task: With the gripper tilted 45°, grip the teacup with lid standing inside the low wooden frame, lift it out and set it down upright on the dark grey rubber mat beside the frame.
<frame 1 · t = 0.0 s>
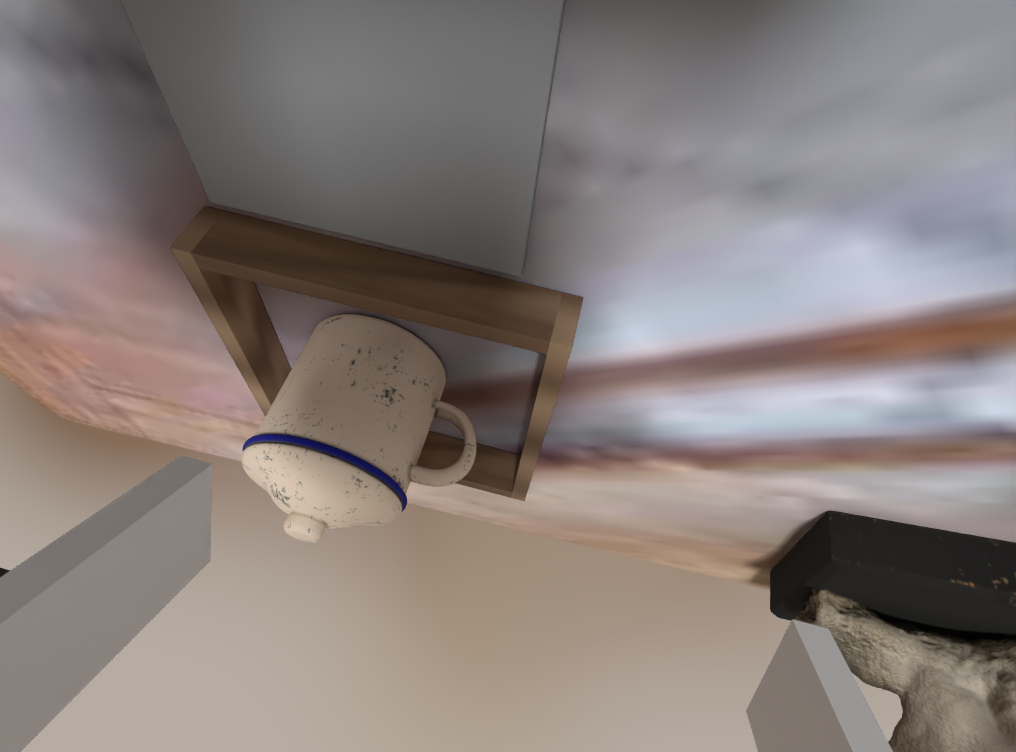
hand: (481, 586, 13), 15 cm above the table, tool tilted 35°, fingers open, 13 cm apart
teacup with lid: (404, 359, 35), resting in wooden frame
wooden frame: (403, 362, 35), on the table
rubber mat: (341, 69, 20), on the table
coral: (954, 552, 39), on the table
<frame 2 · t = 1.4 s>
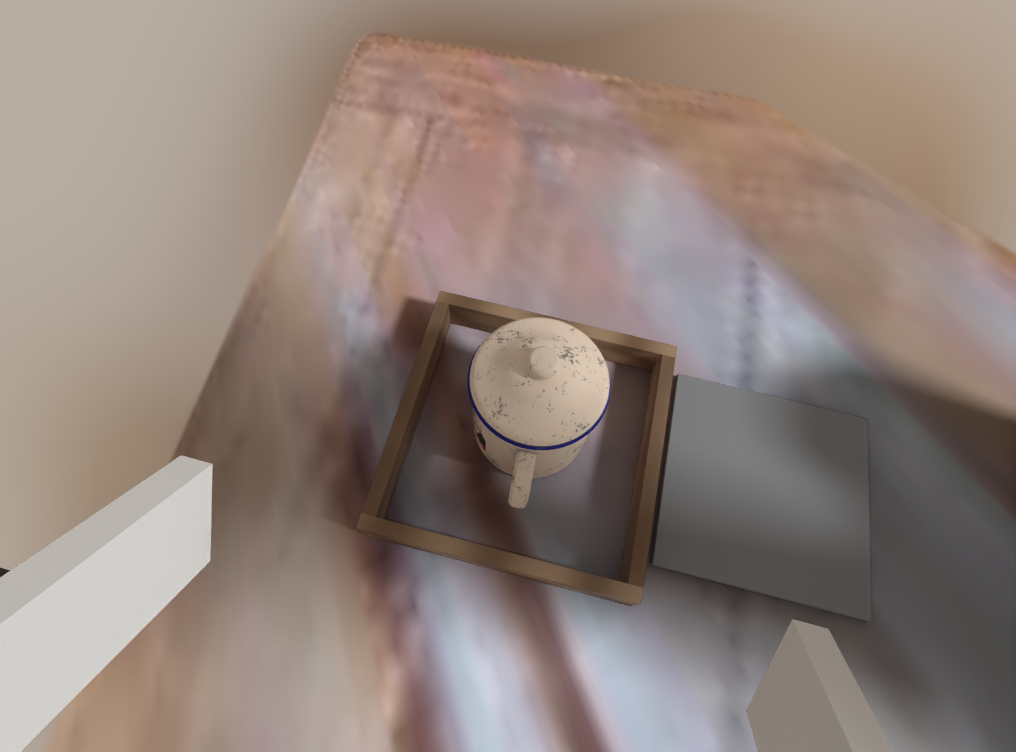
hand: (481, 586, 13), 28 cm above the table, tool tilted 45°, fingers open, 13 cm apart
teacup with lid: (526, 443, 43), resting in wooden frame
wooden frame: (526, 442, 43), on the table
rubber mat: (763, 488, 42), on the table
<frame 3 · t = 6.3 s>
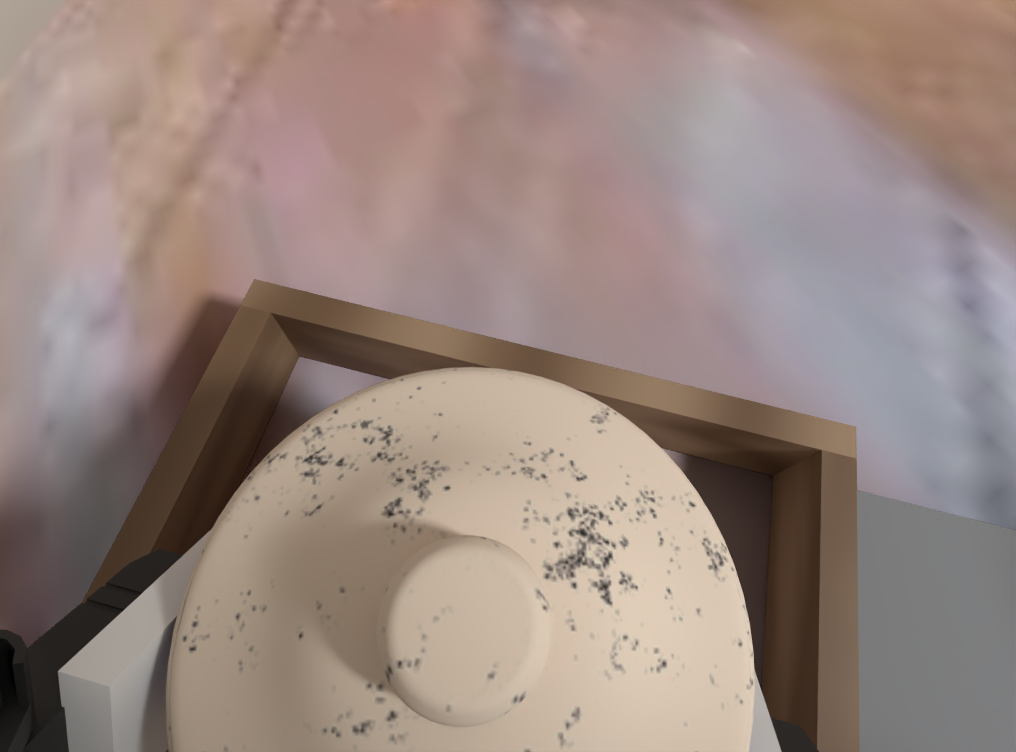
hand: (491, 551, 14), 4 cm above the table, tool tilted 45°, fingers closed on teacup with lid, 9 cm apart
teacup with lid: (463, 682, 16), resting in wooden frame, touching gripper
wooden frame: (461, 683, 16), on the table
when the fingers open (6 cm above the table, at t = 13.3 s): teacup with lid drops 1 cm, resting on rubber mat.
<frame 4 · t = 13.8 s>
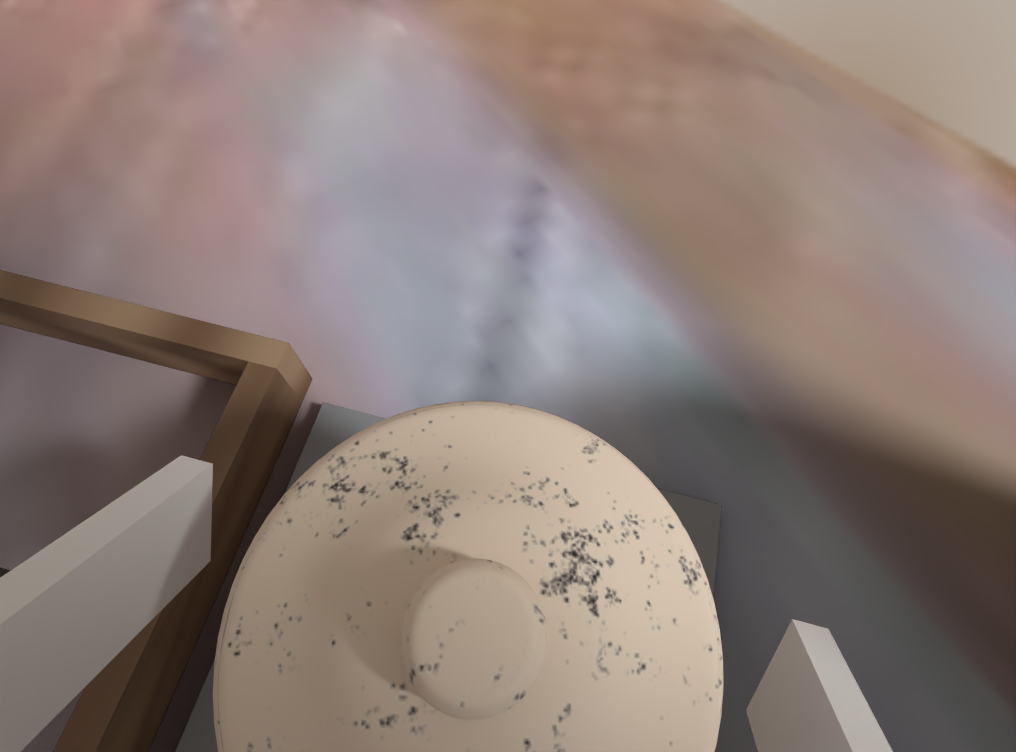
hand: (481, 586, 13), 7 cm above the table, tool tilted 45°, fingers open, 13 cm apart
teacup with lid: (465, 682, 18), resting on rubber mat
rubber mat: (461, 677, 18), on the table
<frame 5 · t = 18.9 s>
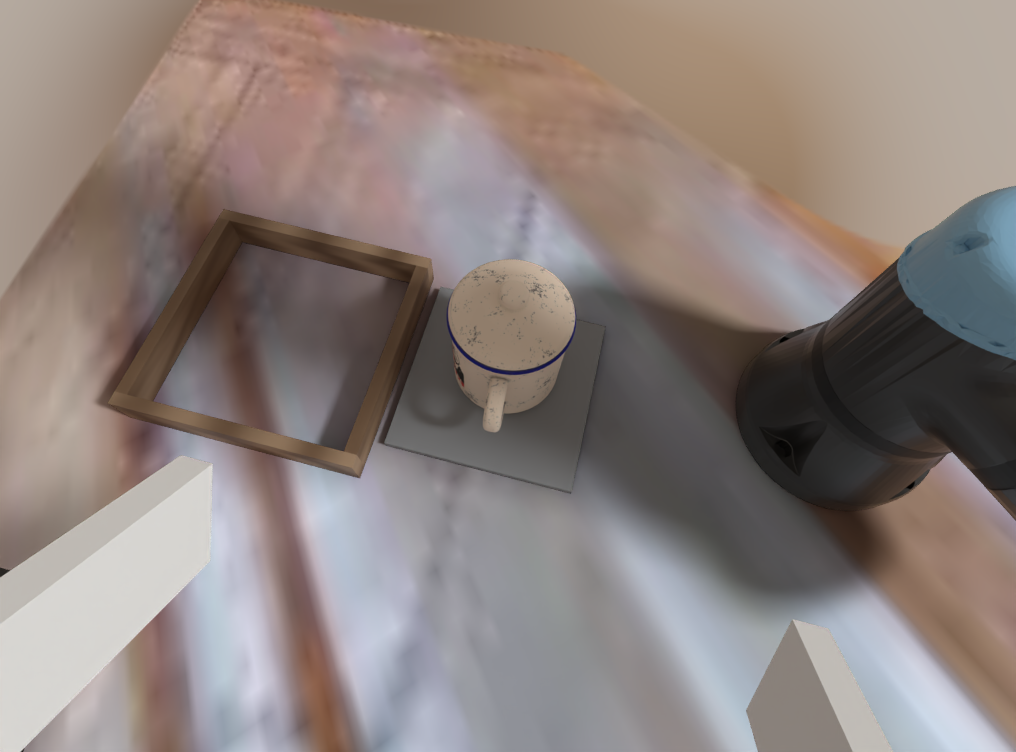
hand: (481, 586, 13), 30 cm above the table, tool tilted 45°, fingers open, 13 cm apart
teacup with lid: (502, 383, 47), resting on rubber mat
wooden frame: (292, 343, 48), on the table
rubber mat: (500, 384, 47), on the table
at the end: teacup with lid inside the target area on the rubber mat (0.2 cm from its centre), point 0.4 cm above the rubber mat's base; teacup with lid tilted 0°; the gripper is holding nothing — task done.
